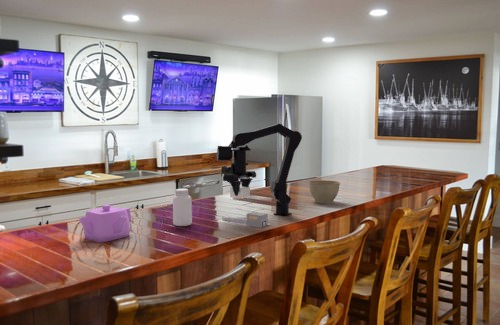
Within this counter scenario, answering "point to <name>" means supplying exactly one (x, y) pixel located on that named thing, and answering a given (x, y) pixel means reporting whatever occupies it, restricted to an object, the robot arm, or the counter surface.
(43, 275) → the counter surface
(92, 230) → the teakettle
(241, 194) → the block
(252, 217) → the mounted module
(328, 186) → the planter bowl
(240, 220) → the rail
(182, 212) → the pill bottle
